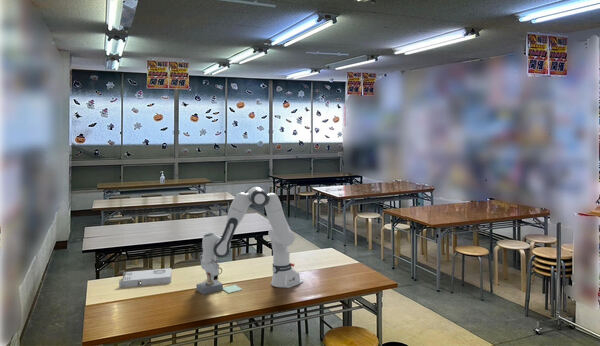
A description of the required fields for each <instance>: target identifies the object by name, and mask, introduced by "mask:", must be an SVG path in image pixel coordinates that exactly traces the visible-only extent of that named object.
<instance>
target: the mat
mask: <svg viewBox="0 0 600 346" xmlns="http://www.w3.org/2000/svg"><path fill="white" fill-rule="evenodd" d="M222 291H224V292H225V293H227V294H232V293H236V292H239V291H243V289H242V288H241V287H239V286H238V285H237V284H234V285H230V286H229V285H228V286H225V287H224V286H223V290H222Z"/></svg>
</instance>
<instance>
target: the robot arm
mask: <svg viewBox="0 0 600 346" xmlns="http://www.w3.org/2000/svg"><path fill="white" fill-rule="evenodd" d="M250 205H254V206H255V207H256V206H257V207H262V206H263V207H264V209H265V213H266V216H267V219H268V220H267V221H268V223H269V224H270V226H271V227H270V228H269V229H268V234H267V235H268V238H270V244H271V248H272V257H273V258H272V260H273V261H272V262H273V263H272V279H271V282H270V285H271V286H273V287H276V288H287V289H288V288H289V289H290V288H292V287H294V286H297V285H299V284H303V283H304V280H303V278H301V277H300V273H299V272H298V271H297V270H296V269H294V268H293V267H295V263H291V262H290V250H289V248H288V247H290V246H292V245H293V244H294V243H295V241H296V237H295V234H294V233H293V231H292V229H291V227H290V226H289V224H288V222H287V221H288V220H287V219H286V216H285V213H284V210H283V206H282V202H281V201H280V198H279V196H278V195H277V194H276V193H275V192H269V193H266V191H265V190H264V189H263V188H262V187H261V186H259V185H253V186H250V187H249V188H248V189H247V190H246V191H245V192H242V191H241V192H238V193H237V194H236V195H235V196H234V198H233V200H232V202H231V204H230V206H229V209H228V211H227V216H226V224H225V228H224V230H223V233H222V235H221V236H220V235H217V234H216V233H214V232H209V233H205V234H204V236H202V242H201V243H202V244H201V248H202V254H201V255H200V256H199V258H200V267H201V269H202V270H204V271H205V274H206V275H207V273H210V274H211V277H210V279H211V280H214V276H216V275H218V276H219V275H220V271H219V270H220V269H219V268H220V266H219V267H218V264H219V263H218V262H217V260H218V258H219V259H221V258H224V259H225V258H226V257H227V256H228V255H229V254H230V250H231V246H232V245H231V243H232V242H231V241H232V238H233V237H234V234H235V231H236V229H237V228H238V227H239V225H240V224H241V222H242V221H243V219H244V217H245V215H246V213H247V211H248V208H249V207H250ZM217 263H218V264H217Z"/></svg>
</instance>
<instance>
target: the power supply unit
mask: <svg viewBox="0 0 600 346" xmlns="http://www.w3.org/2000/svg"><path fill="white" fill-rule="evenodd" d="M172 275H173V273H172V268H171V267H170V268H161V269H160V268H157V269H145V270H135V271H123V272H122V279H121V280H119V282H118V285H119V286H118V287H119V288H128V287H129V288H130V287H137V286H148V285H150V286H151V285H161V284H171V283H172ZM140 282H141V284H140Z"/></svg>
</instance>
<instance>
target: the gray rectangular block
mask: <svg viewBox="0 0 600 346" xmlns="http://www.w3.org/2000/svg"><path fill="white" fill-rule="evenodd" d="M195 286H196V291H198V293H200V294H201V295H207V294H211V292H212V293H215V292H219V291H224V290H223V288H224V284H223V283H222V282H221V281H219V280H218V279H216V280H213V285H209V286H207V281H203V282H200V283H196V285H195Z"/></svg>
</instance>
